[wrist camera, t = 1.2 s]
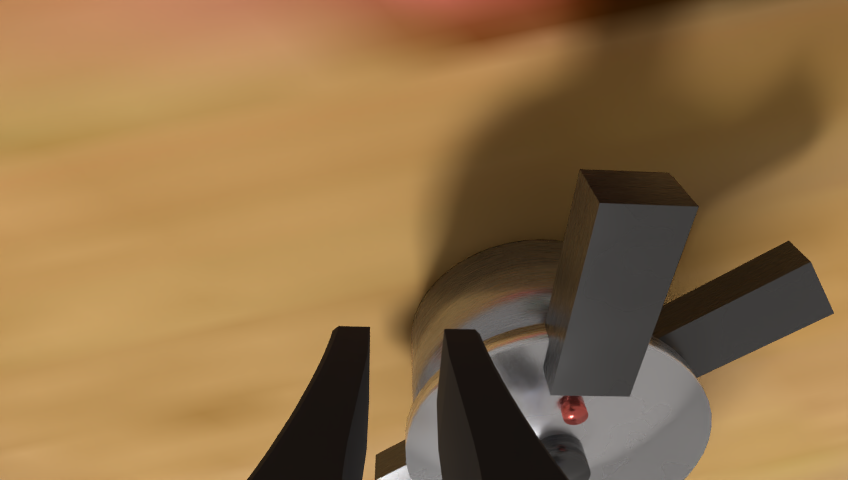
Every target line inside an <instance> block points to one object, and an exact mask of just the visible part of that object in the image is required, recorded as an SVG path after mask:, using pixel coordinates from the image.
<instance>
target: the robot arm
mask: <svg viewBox="0 0 848 480" xmlns="http://www.w3.org/2000/svg"><path fill="white" fill-rule="evenodd" d="M369 359H370V327H349V326H338V327H337V328H336V329H334V330H333V331H332V334H331V338H330V340H329V343H328V345H327V348H326V350H325V353H324V355H323V357H322V359H321V361H320V364H319V365H318V367H317V369H316V371H315V373H314V375H313V377H312V379H311V381H310V383H309V385H308V387H307V388H306V390H305V392H304V394H303V395H302V397H301V399H300V401H299V403H298V404H297V406H296V408H295V410H294V411H293V413H292V415H291V416H290V418H289V419H288V421H287V422H286V424H285V425H284V427H283V429H282V430H281V432H280V433H279V435H278V436H277V438H276V439H275V441H274V442H273V444H272V445H271V447H270V449H269V450H268V451H267V453H266V454H265V456H264V457H263V459H262V460H261V461H260V463H259V464H258V466H257V467H256V468H255V470H254V471H253V472H252V474H251V475H250V477H249V478H248V479H247V480H362V477H363V470H364V463H365V456H366V449H367V430H368V409H369ZM437 430H438V452H439V459H440V467H441V474H442V480H569V479H568V478H567V476H566V475H565V474H564V472H563V471H562V470H561V468H560V467H559V466H558V464H557V463H556V462H555V460H554V459H553V458H552V456H551V455H550V453H549V452H548V450H547V449H546V448H545V446H544V445H543V443H542V442H541V441H540V439H539V438H538V436H537V435H536V433H535V432H534V430H533V429H532V427H531V426H530V424H529V423H528V421H527V420H526V418H525V416H524V415H523V413H522V412H521V410H520V408H519V407H518V405H517V403H516V402H515V400H514V399H513V397H512V395H511V394H510V392H509V390H508V389H507V387H506V385H505V383H504V382H503V380H502V378H501V376H500V374H499V372H498V371H497V369H496V367H495V365H494V363H493V361H492V359H491V357H490V355H489V353H488V351H487V349H486V347H485V345H484V343H483V340H482V338H481V336H480V334H479V333H478V332H477V331H476V330H475V329H444V335H443V345H442V354H441V364H440V373H439V383H438V392H437Z"/></svg>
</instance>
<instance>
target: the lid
mask: <svg viewBox="0 0 848 480" xmlns="http://www.w3.org/2000/svg"><path fill="white" fill-rule="evenodd" d="M698 207H699V206H698V205H697V204H696V203H695V202H694V201H693V200H692V198H691V197H690V196H689V195H688V194H687V193H686V192H685V190H684V189H683V188H682V187H681V186H680V185H679V184H678V182H677V181H676V180H675V179H674V178H673V177H672V176H671V174H670V173H658V172H633V171H608V170H584V169H580V171H579V175H578V180H577V184H576V188H575V193H574V197H573V202H572V206H571V210H570V215H569V219H568V224H567V228H566V232H565V237H564V241H563V246H562V250H561V254H560V259H559V263H558V268H557V272H556V276H555V281H554V285H553V290H552V294H551V298H550V303H549V307H548V312H547V316H546V320H545V323H540V324H535V325H530V326H526V327H521V328H517V329H514V330H511V331H508V332H505V333H502V334H499V335H496V336H493V337H491V338H489V339H487V340H484V341H483V343H484V345H485V347H486V349H487V351H488V353H489V355H490V357H491V359H492V361H493V363H494V365H495V367H496V369H497V371H498V372H499V374H500V376H501V378H502V380H503V382H504V383H505V385H506V387H507V389H508V390H509V392H510V394H511V395H512V397H513V399H514V400H515V402H516V403H517V405H518V407H519V408H520V410H521V412H522V413H523V415H524V416H525V418H526V420H527V421H528V423H529V424H530V426H531V427H532V429H533V430H534V432H535V433H536V435H537V436H538V438H539V439H540V441H541V442H542V443H543V445H544V446H545V448H546V449H547V450H548V452H549V453H550V455H551V456H552V458H553V459H554V460H555V462H556V463H557V464H558V466H559V467H560V468H561V470H562V471H563V472H564V474H565V475H566V476H567V478H568V479H569V480H684V479H685V478H686V477H687V476H688V475H689V473H690V472H691V471H692V470H693V468H694V467H695V466H696V465H697V463H698V461H699V460H700V458H701V456H702V455H703V453H704V450H705V448H706V445H707V443H708V440H709V436H710V431H711V410H710V405H709V401H708V399H707V397H706V394H705V392H704V390H703V388H702V386H701V384H700V383H699V381H698V379H697V378H696V376H695V374H694V372H693V371H692V369H691V368H690V367H689V365H688V364H687V362H686V361H685V360H684V359H683V358H682V357H681V356H680V355H679V354H678V353H677V352H676V351H675V350H674V349H673V348H671V347H670V346H668V345H667V344H665V343H664V342H662V341H661V340H659V339H657V338H655V337H653V336H652V334H653V331H654V328H655V326H656V323H657V320H658V317H659V315H660V312H661V309H662V306H663V304H664V301H665V298H666V295H667V293H668V290H669V287H670V284H671V282H672V279H673V276H674V273H675V271H676V268H677V265H678V262H679V260H680V257H681V254H682V251H683V249H684V246H685V243H686V240H687V238H688V235H689V232H690V229H691V227H692V224H693V221H694V218H695V216H696V213H697V210H698ZM439 373H440V369H439V370H438V371H437V372H436V373H435V374H434V375H433V376H432V377H431V378H430V379H429V380H428V382H427V383H426V384H425V385H424V387H423V388H422V389H421V390H420V392H419V394H418V395H417V397H416V399H415V401H414V402H413V404H412V407H411V409H410V412H409V415H408V418H407V424H406V430H405V443H406V464H407V469H408V473H409V476H410V478H411V480H442V474H441V467H440V459H439V452H438V430H437V392H438V383H439Z"/></svg>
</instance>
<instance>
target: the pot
mask: <svg viewBox="0 0 848 480" xmlns="http://www.w3.org/2000/svg"><path fill="white" fill-rule="evenodd" d="M562 246H563V241H556V240H528V241H519V242H513V243H507V244H504V245H500V246H497V247H493V248H490V249H487V250H485V251H483V252H480V253H478V254H475V255H473V256H471V257H470V258H468V259H466V260H464V261H462V262H460V263H459V264H458V265H456V266H455V267H453V268H452V269H450V270H449V271H448V272H447V273H445V274H444V275H443V276H442V277H441V278H440V279H439V280H438V281H437V282H436V283H435V284H434V285H433V286H432V288H431V289H430V290H429V291H428V292H427V294H426V295H425V297H424V299H423V300H422V302H421V303H420V306H419V308H418V310H417V312H416V315H415V318H414V322H413V326H412V336H411V343H412V386H413V402H414V401H415V399H416V397H417V395H418V394H419V392H420V390H421V389H422V388H423V387H424V385H425V384H426V383H427V382H428V380H429V379H430V378H431V377H432V376H433V375H434V374H435V373H436V372H437V371H438V370H439V369H440V364H441V354H442V345H443V335H444V329H475V330H476V331H477V332H478V333H479V334H480V336H481V338H482V340H483V341H484V340H487V339H489V338H491V337H493V336H496V335H499V334H502V333H505V332H508V331H511V330H514V329H517V328H521V327H526V326H530V325H535V324H540V323H545V320H546V316H547V312H548V307H549V303H550V298H551V294H552V290H553V285H554V281H555V276H556V272H557V268H558V263H559V259H560V254H561V250H562ZM831 314H834V312H833V310H832V308H831V306H830V303H829V301H828V299H827V297H826V294H825V292H824V290H823V288H822V286H821V283H820V281H819V279H818V277H817V275H816V272H815V270H814V268H813V266H812V264H811V262H810V261H809V260H808V259H807V258H806V257H805V256H804V255H803V254H802V253H801V252H800V251H799V250H798V249H797V248H796V247H795V246H794V245H793V244H792V243H791V242H790V241H787V242H785V243H783V244H781V245H779V246H777V247H776V248H774V249H772V250H770V251H768V252H766V253H764V254H762V255H760V256H758V257H756V258H754V259H752V260H750V261H749V262H747V263H745V264H743V265H741V266H739V267H737V268H735V269H733V270H731V271H729V272H727V273H725V274H724V275H722V276H720V277H718V278H716V279H714V280H712V281H710V282H708V283H706V284H704V285H702V286H700V287H698V288H697V289H695V290H693V291H691V292H689V293H687V294H685V295H683V296H681V297H679V298H677V299H675V300H673V301H671V302H670V303H668V304H666V305H664V306H662V309H661V312H660V315H659V317H658V320H657V323H656V326H655V328H654V331H653V334H652V336H653V337H655V338H657V339H659V340H661V341H662V342H664V343H665V344H667V345H668V346H670V347H671V348H673V349H674V350H675V351H676V352H677V353H678V354H679V355H680V356H681V357H682V358H683V359H684V360H685V361H686V362H687V364H688V365H689V367H690V368H691V369H692V371H693V372H694V374H695V376H696V378H697V377H700V376H702V375H704V374H706V373H708V372H710V371H712V370H714V369H717V368H719V367H721V366H723V365H725V364H727V363H729V362H731V361H734V360H736V359H738V358H740V357H742V356H744V355H746V354H748V353H751V352H753V351H755V350H757V349H759V348H761V347H763V346H765V345H768V344H770V343H772V342H774V341H776V340H778V339H780V338H783V337H785V336H787V335H789V334H791V333H793V332H795V331H797V330H800V329H802V328H804V327H806V326H808V325H810V324H812V323H814V322H817V321H819V320H821V319H823V318H825V317H827V316H829V315H831ZM375 480H411V478H410V476H409V473H408V469H407V464H406V443H405V440H404V441H402V442H400V443H398V444H396V445H394V446H392V447H390V448H388V449H386V450H384V451H382V452H380V453H379V454H377V455H376V464H375Z"/></svg>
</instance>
